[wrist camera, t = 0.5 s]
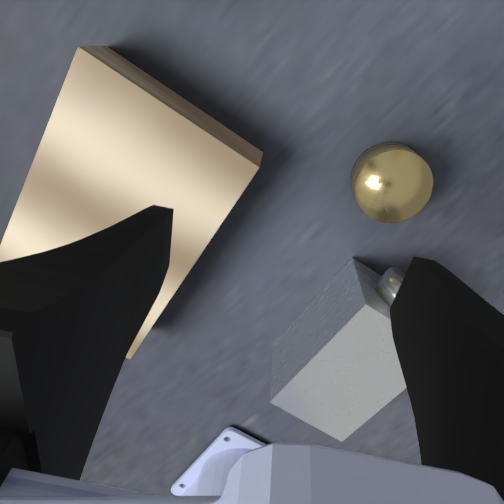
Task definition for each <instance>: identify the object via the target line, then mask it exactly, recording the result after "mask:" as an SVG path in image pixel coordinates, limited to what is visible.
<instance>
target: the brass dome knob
mask: <svg viewBox="0 0 504 504" xmlns="http://www.w3.org/2000/svg"><path fill="white" fill-rule="evenodd" d="M351 187H352V190H353V193H354V195H355V198H356V200H357V202H358V204H359V206H360V208H361V210H362V211H363V212H364V213H365V214H366V215H367V216H368V217H370V218H372V219H374V220H376V221H379V222H383V223H396V222H401V221H404V220H407V219H409V218H411V217H412V216H414V215H416V214H417V213H418V212H419V211H420V210H421V209H422V208H423V207H424V206H425V205H426V203H427V202H428V200H429V198H430V196H431V193H432V189H433V176H432V172H431V170H430V167H429V166H428V164H427V163H426V162H425V161H424V160H423V159H422V158H421V157H420V156H419V155H417V154H416V153H415V152H414V151H413V150H412V149H410V148H409V147H407V146H406V145H403V144H400V143H396V142H385V143H380V144H377V145H374V146H372V147H371V148H369V149H367V150H366V151H365V152H364V153H362V154H361V156H360V157H359V158H358V159H357V161H356V162H355V164H354V166H353V169H352V172H351Z"/></svg>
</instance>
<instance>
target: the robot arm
mask: <svg viewBox="0 0 504 504" xmlns="http://www.w3.org/2000/svg"><path fill="white" fill-rule="evenodd" d="M173 212H174V209H172V208H167V207H162V206H157V205H152V206H149V207H147V208H145V209H143V210H141V211H139V212H138V213H136V214H134V215H132V216H130V217H128V218H126V219H124V220H122V221H120V222H118V223H116V224H114V225H112V226H110V227H108V228H106V229H103V230H101V231H99V232H97V233H94V234H92V235H90V236H87V237H85V238H83V239H80V240H78V241H75V242H72V243H70V244H67V245H64V246H61V247H58V248H54V249H51V250H48V251H45V252H41V253H37V254H33V255H29V256H24V257H20V258H16V259H12V260H8V261H3V262H0V504H504V315H503V314H502V313H500V312H499V311H498V310H496V309H495V308H494V307H493V306H491V305H490V304H489V303H488V302H486V301H485V300H484V299H483V298H482V297H480V296H479V295H478V294H477V293H475V292H474V291H473V290H472V289H471V288H469V287H468V286H467V285H466V284H465V283H463V282H462V281H461V280H460V279H459V278H457V277H456V276H455V275H454V274H452V273H451V272H450V271H449V270H447V269H446V268H445V267H443V266H442V265H440V264H439V263H437V262H436V261H434V260H429V259H424V258H419V257H413V259H412V262H411V264H410V266H409V268H408V270H407V272H406V275H405V277H404V279H403V281H402V283H401V285H400V288H399V290H398V292H397V294H396V296H395V298H394V301H393V303H392V305H391V307H390V319H391V328H392V335H393V340H394V344H395V348H396V352H397V355H398V359H399V362H400V366H401V369H402V373H403V376H404V380H405V383H406V387H407V390H408V394H409V397H410V401H411V405H412V409H413V413H414V417H415V423H416V429H417V435H418V441H419V447H420V454H421V461H422V465H421V464H415V463H410V462H405V461H400V460H394V459H389V458H384V457H379V456H373V455H368V454H363V453H358V452H352V451H347V450H342V449H337V448H332V447H326V446H321V445H316V444H311V443H292V442H274V443H271V444H268V445H266V444H264V443H263V442H261V441H259V440H257V439H255V438H253V437H251V436H249V435H247V434H245V433H243V432H241V431H240V430H238V429H236V428H233V427H228V428H226V429H225V430H224V431H223V432H222V433H221V434H220V435H219V436H218V437H217V438H216V439H215V441H214V442H213V443H212V444H211V445H210V446H209V447H208V448H207V449H206V450H205V451H204V452H203V453H202V454H201V455H200V456H199V458H198V459H197V460H196V461H195V462H194V463H193V464H192V465H191V466H190V467H189V468H188V469H187V470H186V471H185V472H184V473H183V475H182V476H181V477H180V478H179V479H178V480H177V481H176V482H175V483H174V484H173V485H172V488H171V492H172V493H173V494H174V495H176V496H159V495H154V494H149V493H144V492H138V491H133V490H128V489H122V488H117V487H112V486H106V485H101V484H96V483H90V482H85V481H80V477H81V474H82V471H83V468H84V465H85V462H86V459H87V457H88V454H89V451H90V448H91V446H92V443H93V440H94V437H95V434H96V432H97V429H98V426H99V423H100V421H101V418H102V415H103V413H104V410H105V408H106V405H107V402H108V400H109V397H110V394H111V392H112V389H113V387H114V384H115V382H116V379H117V377H118V374H119V372H120V369H121V367H122V364H123V362H124V360H125V358H126V355H127V353H128V351H129V349H130V347H131V345H132V344H133V342H134V340H135V338H136V336H137V334H138V332H139V331H140V329H141V327H142V325H143V323H144V321H145V319H146V317H147V316H148V314H149V312H150V310H151V308H152V306H153V304H154V302H155V301H156V299H157V297H158V295H159V293H160V290H161V288H162V285H163V282H164V280H165V277H166V274H167V271H168V268H169V263H170V250H171V238H172V225H173Z"/></svg>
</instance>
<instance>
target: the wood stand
mask: <svg viewBox="0 0 504 504" xmlns="http://www.w3.org/2000/svg"><path fill="white" fill-rule="evenodd" d="M262 156H263V152H262V151H261V150H259V149H258V148H256V147H255V146H253V145H252V144H250V143H249V142H247V141H246V140H244V139H243V138H242V137H240V136H239V135H237V134H236V133H234V132H233V131H231V130H230V129H228V128H227V127H225V126H224V125H222V124H221V123H219V122H218V121H216V120H215V119H213V118H212V117H211V116H209V115H208V114H206V113H205V112H203V111H202V110H200V109H199V108H197V107H196V106H194V105H193V104H191V103H190V102H188V101H187V100H185V99H184V98H182V97H181V96H180V95H178V94H177V93H175V92H174V91H172V90H171V89H169V88H168V87H166V86H165V85H163V84H162V83H160V82H159V81H157V80H156V79H154V78H153V77H151V76H150V75H149V74H147V73H146V72H144V71H143V70H141V69H140V68H138V67H137V66H135V65H134V64H132V63H131V62H129V61H128V60H126V59H125V58H123V57H122V56H120V55H119V54H118V53H116V52H115V51H113V50H112V49H110V48H109V47H107V46H82V47H78V48H77V51H76V53H75V56H74V58H73V61H72V63H71V66H70V69H69V71H68V74H67V76H66V79H65V81H64V84H63V87H62V89H61V92H60V94H59V97H58V99H57V102H56V104H55V107H54V110H53V112H52V115H51V117H50V120H49V122H48V125H47V127H46V130H45V133H44V135H43V138H42V140H41V143H40V145H39V148H38V150H37V153H36V156H35V158H34V161H33V163H32V166H31V168H30V171H29V173H28V176H27V179H26V181H25V184H24V186H23V189H22V191H21V194H20V196H19V199H18V202H17V204H16V207H15V209H14V212H13V214H12V217H11V220H10V222H9V225H8V227H7V230H6V232H5V235H4V237H3V240H2V243H1V245H0V262H3V261H8V260H12V259H16V258H20V257H24V256H29V255H33V254H37V253H41V252H45V251H48V250H51V249H54V248H58V247H61V246H64V245H67V244H70V243H72V242H75V241H78V240H80V239H83V238H85V237H87V236H90V235H92V234H94V233H97V232H99V231H101V230H103V229H106V228H108V227H110V226H112V225H114V224H116V223H118V222H120V221H122V220H124V219H126V218H128V217H130V216H132V215H134V214H136V213H138V212H139V211H141V210H143V209H145V208H147V207H149V206H152V205H157V206H162V207H167V208H172V209H174V212H173V225H172V238H171V250H170V263H169V268H168V271H167V274H166V277H165V280H164V282H163V285H162V288H161V290H160V293H159V295H158V297H157V299H156V301H155V302H154V304H153V306H152V308H151V310H150V312H149V314H148V316H147V317H146V319H145V321H144V323H143V325H142V327H141V329H140V331H139V332H138V334H137V336H136V338H135V340H134V342H133V344H132V345H131V347H130V349H129V351H128V353H127V355H126V357H127V358H129V359H130V358H131V357H132V355H133V354H134V352H135V351H136V350H137V348H138V347H139V345H140V344H141V342H142V341H143V339H144V338H145V336H146V335H147V333H148V332H149V330H150V329H151V327H152V326H153V324H154V323H155V321H156V320H157V318H158V317H159V316H160V314H161V313H162V311H163V310H164V308H165V307H166V305H167V304H168V302H169V301H170V299H171V298H172V296H173V295H174V293H175V292H176V290H177V289H178V287H179V286H180V284H181V283H182V282H183V280H184V279H185V277H186V276H187V274H188V273H189V271H190V270H191V268H192V267H193V265H194V264H195V262H196V261H197V259H198V258H199V256H200V255H201V253H202V252H203V250H204V249H205V247H206V246H207V245H208V243H209V242H210V240H211V239H212V237H213V236H214V234H215V233H216V231H217V230H218V228H219V227H220V225H221V224H222V222H223V221H224V219H225V218H226V216H227V215H228V213H229V212H230V211H231V209H232V208H233V206H234V205H235V203H236V202H237V200H238V199H239V197H240V196H241V194H242V193H243V191H244V190H245V188H246V187H247V185H248V184H249V182H250V181H251V179H252V178H253V177H254V175H255V174H256V172H257V171H258V169H259V168H260V164H261V160H262Z"/></svg>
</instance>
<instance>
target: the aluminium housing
mask: <svg viewBox="0 0 504 504" xmlns="http://www.w3.org/2000/svg"><path fill="white" fill-rule="evenodd" d="M405 275H406V273H404V272H403V271H401V270H399V269H397V268H395V267H390V268H389V269H388V270H387V271H386V272H385V273H384V274H383V275H382V276H381V275H379V274H378V273H376V272H375V271H373V270H372V269H370V268H369V267H367V266H365V265H364V264H362V263H361V262H359V261H358V260H356V259H355V258H353V257H351V258H350V259H349V261H348V262H347V263H346V264H345V265H344V266H343V267H342V268H341V269H340V271H339V272H338V273H337V274H336V275H335V276H334V277H333V278H332V279H331V281H330V282H329V283H328V284H327V285H326V286H325V287H324V288H323V290H322V291H321V292H320V293H319V294H318V295H317V296H316V297H315V298H314V300H313V301H312V302H311V303H310V304H309V305H308V306H307V307H306V309H305V310H304V311H303V312H302V313H301V314H300V315H299V316H298V317H297V319H296V320H295V321H294V322H293V323H292V324H291V325H290V326H289V327H288V329H287V330H286V331H285V332H284V333H283V334H282V335H281V336H280V338H279V339H278V340H277V341H276V342H275V343H274V344H273V353H272V371H271V388H270V403H272V404H274V405H276V406H278V407H279V408H281V409H283V410H285V411H287V412H288V413H290V414H292V415H294V416H296V417H298V418H299V419H301V420H303V421H305V422H307V423H309V424H310V425H312V426H314V427H316V428H318V429H319V430H321V431H323V432H325V433H327V434H329V435H330V436H332V437H334V438H336V439H338V440H340V441H341V442H342V441H343V440H345V439H346V438H347V437H348V436H349V435H351V434H352V433H353V432H354V431H355V430H356V429H358V428H359V427H360V426H361V425H362V424H364V423H365V422H366V421H367V420H368V419H370V418H371V417H372V416H373V415H374V414H376V413H377V412H378V411H379V410H380V409H381V408H383V407H384V406H385V405H386V404H387V403H389V402H390V401H391V400H392V399H393V398H395V397H396V396H397V395H398V394H399V393H401V392H402V391H403V390H404V389H405V388H407V387H406V383H405V380H404V376H403V373H402V369H401V366H400V362H399V359H398V355H397V352H396V348H395V344H394V340H393V335H392V328H391V319H390V307H391V305H392V303H393V301H394V298H395V296H396V294H397V292H398V290H399V288H400V285H401V283H402V281H403V279H404V277H405Z"/></svg>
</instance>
